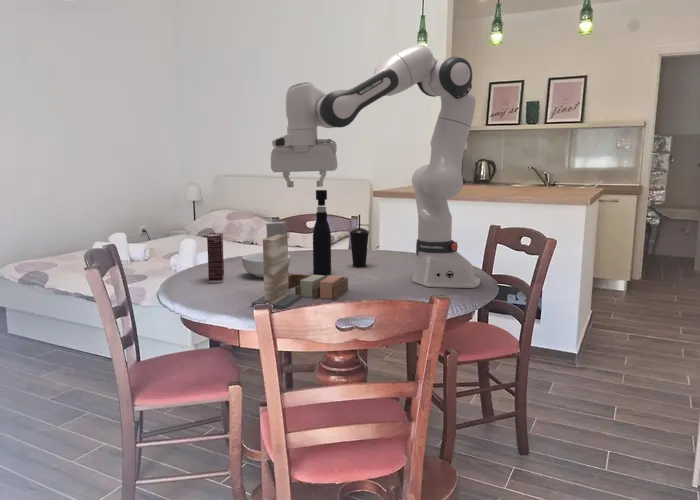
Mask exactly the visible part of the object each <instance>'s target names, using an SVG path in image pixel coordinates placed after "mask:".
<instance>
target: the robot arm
mask: <svg viewBox="0 0 700 500" xmlns="http://www.w3.org/2000/svg"><path fill="white" fill-rule="evenodd" d="M373 71H374V72H373V74H372V76H371V77H370V78H368V79H366V80H365V81H363V82H361V83H359V84H358V85H355V86H354V87H352V88H349V89H337V90H333V91H331V92H326V91H323V90H322V89H320V88H318V87H316V86H315V85H314V84H313V83H311V82H301V83H300V82H299V83H297V84H294V85H292V86H290V87H289V88H287V91H286V96H285V97H286V98H285V114H286V119H287V129H286V132H287V133H286V134H285V135H283V136H280V137H278V138H277V137H276V138H275V139H273V140H271V145H272V147H273V149H272V150H271V152H270V153H271V154H270V169H271V171H272V173H282V177H283V178H284V180H285V182H286V186H287V188H294V186H295V185H294V180H291V179H290V176H291V173H296V172H297V173H299V172H318V173H319V176H320V177H319V180H316V181H315V182H316V187H317V188H319V187H320V188H322V187H324V180H325V178H326V176H327V172H334V171H336V170H337V169H338V159H337V158H338V157H337V148H338V147H337V142H336V141H334V140H332V139H331V138H327V139H322V138H321V139H320V138H319V139H318V127H321V128H325V129H334V128H344V127H347V126H348V125H350V124H352V123H353V121H355V119H356V117H357V116H358V115H359V113H360V112H361V111H362V109H365V108H366V107H368V106H369V105H371V104H372V103H373V104H374V102H376V101H377V100H380V99H381V98H383V97H386V96H388V97H390V96H394V95H397V94H399V93H402V92H405V91H406V90H408V89H410V88H412V87H413V86H415V85H417V87H418V89H419V90H420V91H421V92H422V93H423V94H424V95H426V96H428V97H431V98H432V97H433V98H434V97H440V101H441V102H440V103H441V105H440V111H439V113H438V115H437V120H436V122H435V126H434V129H433V132H432V134H431V135H432V136H431V140H430V148H431V149H430V160H429V164H424V165H422V166H420V167H419V168H417V169H416V170H415V171H414V172H413V174H412V177H411V184H412V187H413V191H414V195H415V201H416V202H415V203H416V209H417V220H418V221H417V225H418V226H417V239H416V242H415V254H416V261H415V262H416V263H415V268H414V272H413V273H414V274H413V276H412V279H411V280H412V282H413V283H416V284H419V285H422V286H424V287H427V288H428V287H429V288H453V289H454V288H458V289H459V288H462V289H463V288H465V289H474V288H477V287H480V285H481V279H480V278H479V277H478V276H475V272H474V267H473V264H472V263H471V261H469V260H468V259H466V257H465V256H463V255H461V253H459V252H458V241H454V240H453V239H452V234H453V233H452V231H453V230H452V225H453V217H452V213H451V211H450V208H449V204H448V199H451V198H453V197H456V196H457V195H458V194H459V193H460V192H461V190H463V189H462V188H463V184H464V178H463V176H462V165H463V157H464V152H465V151H464V150H465V146H466V144H467V140H468V137H469V135H470V134H469V133H470V131H471V127H472V125H473V120H474V115H475V110H476V109H475V108H476V97H475V95H474V94H473V93H472V92H470V91H471V90H472V87H473V85H472V81H473V70H472V66H471V64H470V63H469V61H468V60H467V59H465V58H463V57H459V56H450V57H447V58H446V57H445V58H440V59H436V58H435V57H434V55H433V53H432V51H431V50H430V48H428V46H426V45H424V44H415V45H412V46H410V47H409V46H408V47H407V48H403V49H402V50H399V51H397V52H396V53H394V54H392V55H390V56H388V57H386V58H385V59H384V60H383V61H381V62H380V63H379V64H377V65H376V67H375V68H374V70H373Z"/></svg>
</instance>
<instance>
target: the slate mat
mask: <svg viewBox="0 0 700 500" xmlns="http://www.w3.org/2000/svg"><path fill="white" fill-rule="evenodd" d="M301 298H302V296H301V295H295V294H291V293H289V295H288V296H286V297H285V298H283V299H281V300H280V301H278V302H276V303H275V304H272V303H269V304H272V305H273V308H272V309H279V310H285V309H287V308H288V307H290V306H291V305H292V304H294V303H296V302H297V301H299V300H301ZM256 304H266V303H265V299H264V295H263V296H261V297H260V298H258V299H256V300H254V301H252V302H251V307H254V305H256Z"/></svg>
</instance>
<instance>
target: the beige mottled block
mask: <svg viewBox="0 0 700 500" xmlns="http://www.w3.org/2000/svg"><path fill="white" fill-rule="evenodd" d="M288 241H289V240H288V234H287V235H276V236H273V237H269V238H267V237H266V238H263V239H262V252H263V264H264V278H263V286H264V287H263V289H264V290H263V291H264V292H263V293H264V295H263V296H264V299H265V303H272V304H275V303H276V302H278V301H280V300H281V299H283V298H285V297H286V296H288V295H289V294H290V293H289V288H288V275H289V268H288V255H289V248H288V247H289V246H288Z"/></svg>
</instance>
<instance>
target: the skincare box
mask: <svg viewBox="0 0 700 500" xmlns="http://www.w3.org/2000/svg"><path fill="white" fill-rule="evenodd" d="M265 225H266V238H269V237H273V236H276V235H287V236H288V230H287V228H288V227H287V225H288V224H287V221H272V222H268V223H266V224H265Z"/></svg>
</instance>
